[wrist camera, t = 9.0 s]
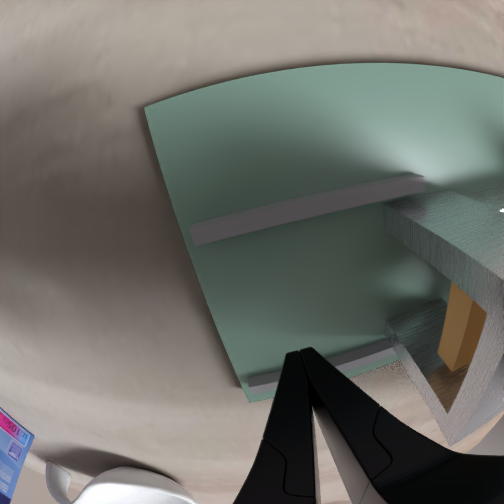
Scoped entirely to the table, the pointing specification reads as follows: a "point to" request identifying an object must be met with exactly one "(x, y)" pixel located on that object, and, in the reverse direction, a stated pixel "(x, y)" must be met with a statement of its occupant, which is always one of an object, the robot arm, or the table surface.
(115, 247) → the table surface
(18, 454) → the ink cartridge box
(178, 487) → the spoon rest
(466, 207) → the plate
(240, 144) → the board
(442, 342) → the orange flat plank
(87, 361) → the table surface
